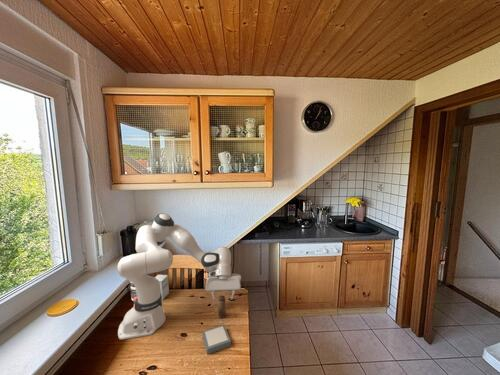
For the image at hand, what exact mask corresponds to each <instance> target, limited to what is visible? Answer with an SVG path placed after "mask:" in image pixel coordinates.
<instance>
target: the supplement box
mask: <svg viewBox="0 0 500 375" xmlns="http://www.w3.org/2000/svg"><path fill="white" fill-rule="evenodd" d="M154 277H155V278H156V279H158V280H159V282H160V292H161V295H162V301H163V300H164V299H165V298H167V296H168V295H169V294H170V287H169V285H170V284H169V275H168V274H157V275H156V276H154Z"/></svg>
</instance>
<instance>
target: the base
mask: <svg viewBox="0 0 500 375" xmlns="http://www.w3.org/2000/svg"><path fill="white" fill-rule="evenodd" d="M201 333H202V339H203V343H204V347H205V351H206V355H211V354H213V353H215V352H219V351H220V350H224V349H227V348H230V347H231V346H232V342H231V338H230V336H229V334H228V331H227V329H226V325H225V324H222V325H218V326H215V327H213V328H209V329H206V330H203V331H202V332H201Z"/></svg>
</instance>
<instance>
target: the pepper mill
mask: <svg viewBox="0 0 500 375" xmlns="http://www.w3.org/2000/svg"><path fill="white" fill-rule="evenodd" d="M226 305H227V304H226V297H225V295H219V296H218V298H217V306H218V307H217V308H218V309H217V310H218V312H217V313H218V318H219V319H225V318H226V316H227V311H226V310H227V309H226V308H227V307H226Z"/></svg>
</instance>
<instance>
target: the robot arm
mask: <svg viewBox="0 0 500 375" xmlns="http://www.w3.org/2000/svg"><path fill="white" fill-rule="evenodd" d="M167 237H168V238H169V239H170V240H171V241H172V243H174V244H175V245H176V246H178V247H179V248H180V249H182V250H183V251H185V252H187V253H188V254H189V255H191V256H192V257H194V258H195V259H196V260H198V262H200V263H201V265H202V267H203V268H204V270H205V272H206V273H207V274H208V276H207V279H206V282H205V286H204V287H205V288H204V289H205V291H206V293H211V296H212V301H216V300H217V296H215V295H214V294H215V293H217V292H219V293H221V292H231V293H232V294H231V295H230V296H229V300H230V301H232V300H233V297H234V295H235V292H238V291H239V292H240V291H241V288H242V286H241V280H242V275H241V274H239V273H232V266H231V263H232V253H231V250H230V249H229V248H228V247H225V246H220V247H218V248H216V249H215V250H213V251H210V252H204V250H202V248H201V247H200V246H199V245H198V243H197V241H196V239H195V238H194V235H192V233H191V232H189V231H188V230H187V229H186V228H185V227H183V226H182V225H179V224H175V221H174V220H173V218H172V217H171V216H170V215H169V214H167V213H158V214H157V215H156V216H155V217H154V221H153V222H152V225H150V224H146V225H142V226H140V227H139V229H138V231H137V233H136V237H135V251H136V253H132V254H130V255H126V256H123V257H121V258H120V260H119V261H118V263H117V268H116V270H117V273H118V275H119V276H120V277H121V278H124V279H127V280H128V281H129V282H130V281H131V282H132V283H133V284H134V286H135V288H136V292H137V297H134V299H133V307H131V309H129V310H128V311H127V312H126V313H125V315H124V316H123V320H122V321H121V322H120V324H119V326H118V329H117V336H118V339H119V340H127V339H133V338H139V337H145V336H151V335H153V334H154V333H155V332H156V330H158V329H159V328H161V326H163V325H164V323H165V322H166V321H167V320H166V319H167V317H166V315H165V312H164V308H163V300H162V295H161V292H160V282H159V280H158V279H156V278H155V277H156V276H150V275H149V274H154V273H155V274H156V273H159V272H163V271H165V270H167V269H169V268H171V267H172V265H173V263H174V256H173V253H172V252H171V251H170V250H169V249H166V248H163V247H161V246H162V245H163V243H164V242H165V241H166V238H167ZM160 245H161V246H160Z"/></svg>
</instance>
